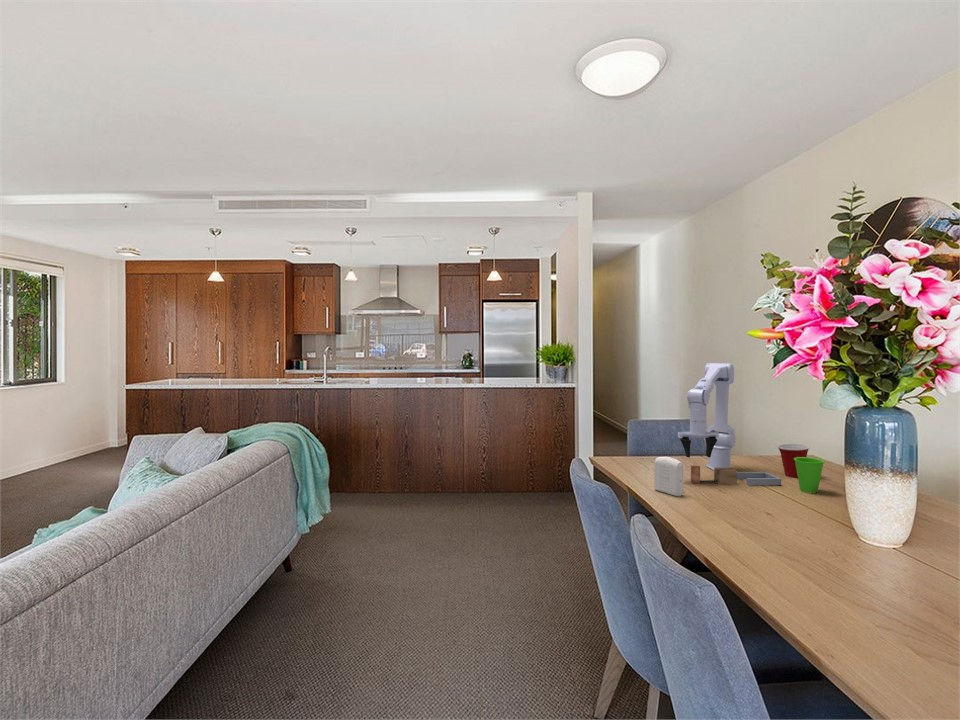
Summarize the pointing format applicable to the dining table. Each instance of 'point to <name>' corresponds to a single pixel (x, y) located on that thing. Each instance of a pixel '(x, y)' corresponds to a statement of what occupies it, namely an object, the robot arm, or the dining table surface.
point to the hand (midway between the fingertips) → (698, 456)
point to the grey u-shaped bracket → (759, 478)
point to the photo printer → (669, 476)
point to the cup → (809, 473)
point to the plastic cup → (792, 457)
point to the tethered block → (715, 475)
